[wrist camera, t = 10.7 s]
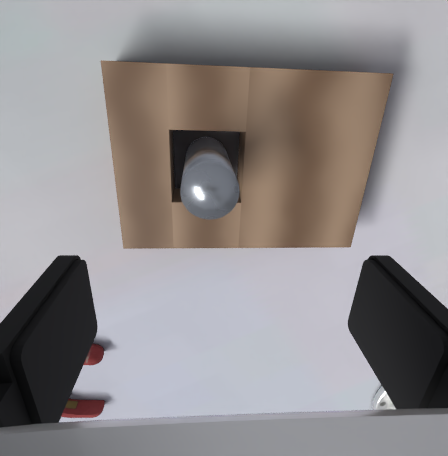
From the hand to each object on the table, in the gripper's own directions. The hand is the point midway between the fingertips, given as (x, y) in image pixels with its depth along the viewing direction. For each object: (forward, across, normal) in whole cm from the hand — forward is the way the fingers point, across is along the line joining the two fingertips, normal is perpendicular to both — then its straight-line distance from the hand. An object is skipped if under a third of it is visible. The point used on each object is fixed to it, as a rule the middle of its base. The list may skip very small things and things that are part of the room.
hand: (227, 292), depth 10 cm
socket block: (+18, -2, -1) cm, 18 cm away
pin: (+18, 0, -1) cm, 18 cm away
